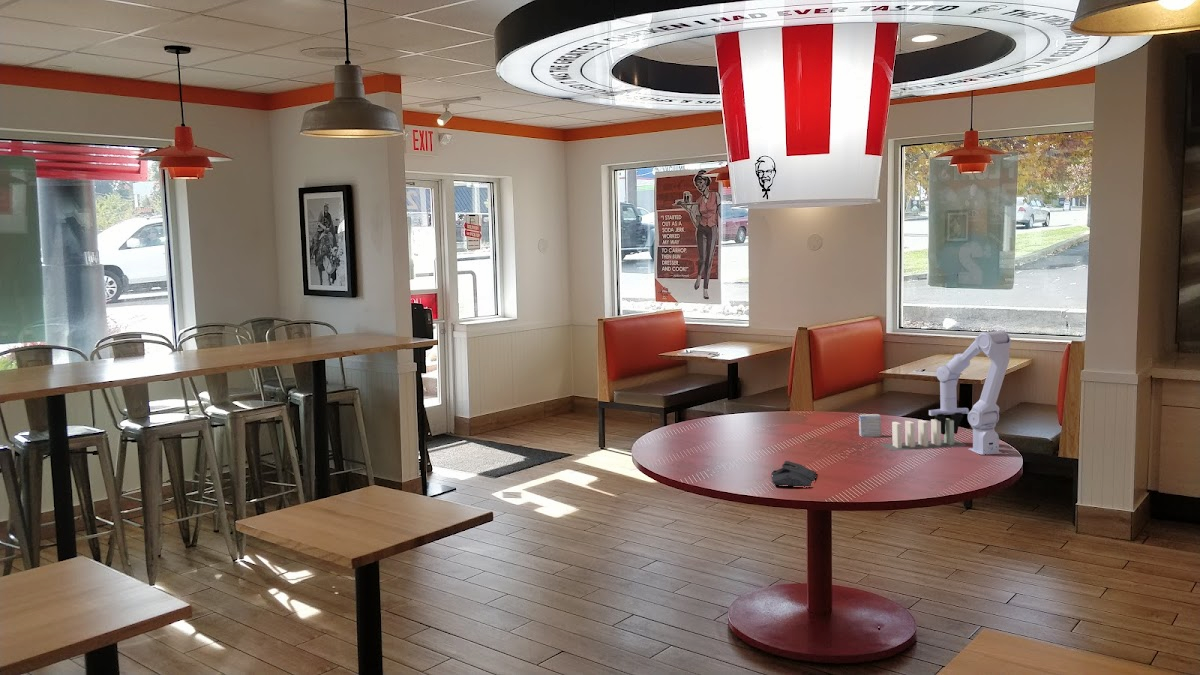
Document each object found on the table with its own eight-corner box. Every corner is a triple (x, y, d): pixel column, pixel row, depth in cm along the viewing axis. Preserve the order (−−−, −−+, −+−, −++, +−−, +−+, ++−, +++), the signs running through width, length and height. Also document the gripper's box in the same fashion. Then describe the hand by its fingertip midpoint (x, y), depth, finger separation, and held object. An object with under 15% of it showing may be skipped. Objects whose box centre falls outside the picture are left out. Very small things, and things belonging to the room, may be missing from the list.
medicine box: (879, 435, 372) (878, 413, 371) (881, 437, 368) (880, 415, 367) (859, 435, 373) (858, 414, 372) (861, 437, 368) (860, 416, 368)
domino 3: (922, 443, 351) (922, 420, 350) (928, 446, 346) (927, 422, 345) (918, 443, 351) (918, 420, 350) (923, 446, 346) (923, 422, 345)
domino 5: (948, 441, 351) (947, 418, 351) (954, 444, 346) (953, 420, 346) (944, 442, 351) (943, 418, 350) (950, 444, 346) (949, 420, 345)
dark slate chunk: (765, 489, 298) (765, 475, 298) (772, 473, 319) (772, 459, 319) (814, 490, 294) (814, 475, 294) (818, 474, 315) (817, 460, 315)
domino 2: (909, 444, 350) (909, 420, 350) (915, 447, 345) (914, 423, 345) (905, 444, 350) (905, 421, 349) (910, 447, 345) (910, 423, 344)
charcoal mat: (968, 446, 343) (968, 445, 343) (891, 451, 341) (891, 450, 341) (953, 440, 355) (953, 439, 355) (879, 445, 353) (879, 444, 353)
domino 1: (896, 445, 350) (896, 421, 349) (901, 447, 345) (901, 423, 344) (892, 445, 350) (892, 421, 349) (897, 448, 345) (897, 424, 344)
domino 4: (935, 442, 351) (935, 419, 350) (941, 445, 346) (940, 421, 345) (931, 442, 351) (930, 419, 350) (937, 445, 346) (936, 421, 345)
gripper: (962, 395, 352) (962, 430, 353) (925, 397, 351) (925, 432, 352) (971, 397, 345) (971, 433, 346) (933, 400, 344) (933, 436, 345)
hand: (949, 433), depth 348 cm, fingers open, 4 cm apart
